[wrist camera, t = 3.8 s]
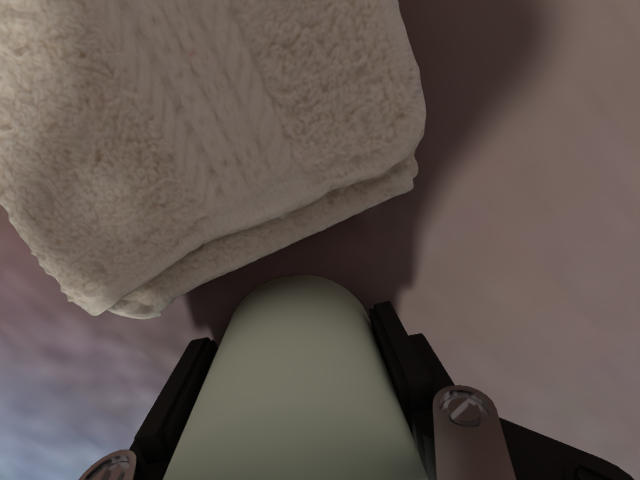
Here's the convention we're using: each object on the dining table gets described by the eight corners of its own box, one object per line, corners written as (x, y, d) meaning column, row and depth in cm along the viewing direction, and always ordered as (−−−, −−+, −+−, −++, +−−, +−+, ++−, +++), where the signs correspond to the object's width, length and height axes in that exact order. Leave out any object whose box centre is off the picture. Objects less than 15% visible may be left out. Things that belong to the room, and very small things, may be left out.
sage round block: (359, 260, 11) (415, 380, 6) (381, 384, 13) (441, 576, 7) (209, 291, 11) (112, 439, 6) (248, 410, 13) (204, 621, 7)
